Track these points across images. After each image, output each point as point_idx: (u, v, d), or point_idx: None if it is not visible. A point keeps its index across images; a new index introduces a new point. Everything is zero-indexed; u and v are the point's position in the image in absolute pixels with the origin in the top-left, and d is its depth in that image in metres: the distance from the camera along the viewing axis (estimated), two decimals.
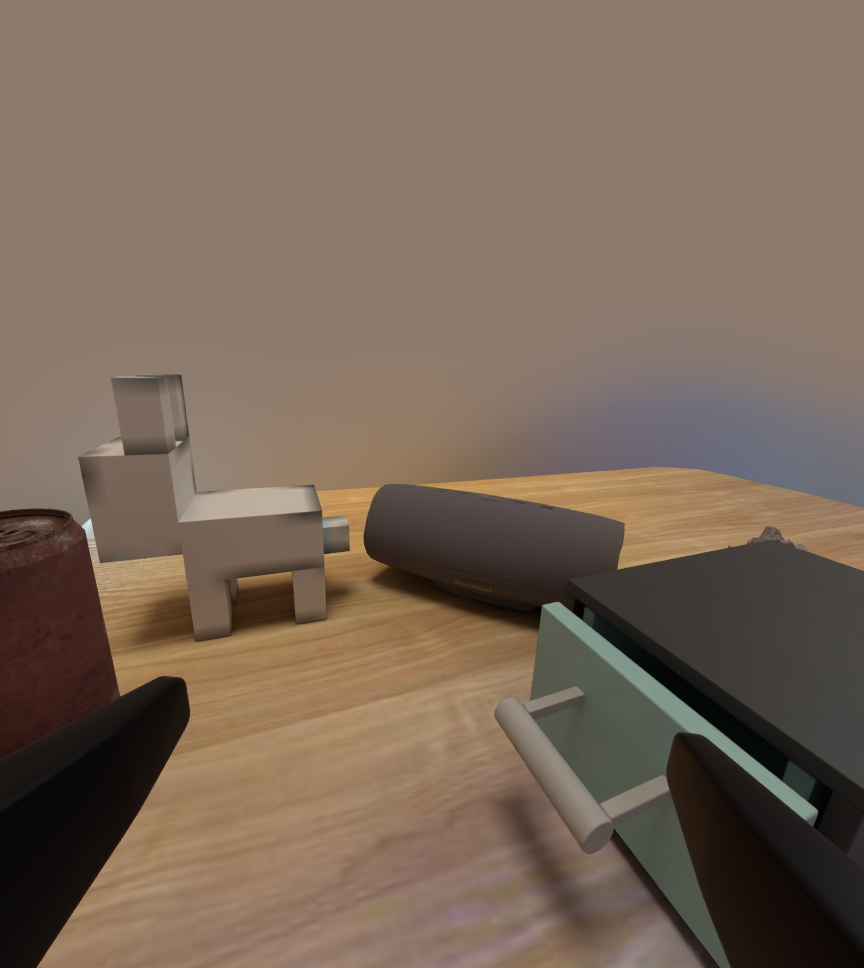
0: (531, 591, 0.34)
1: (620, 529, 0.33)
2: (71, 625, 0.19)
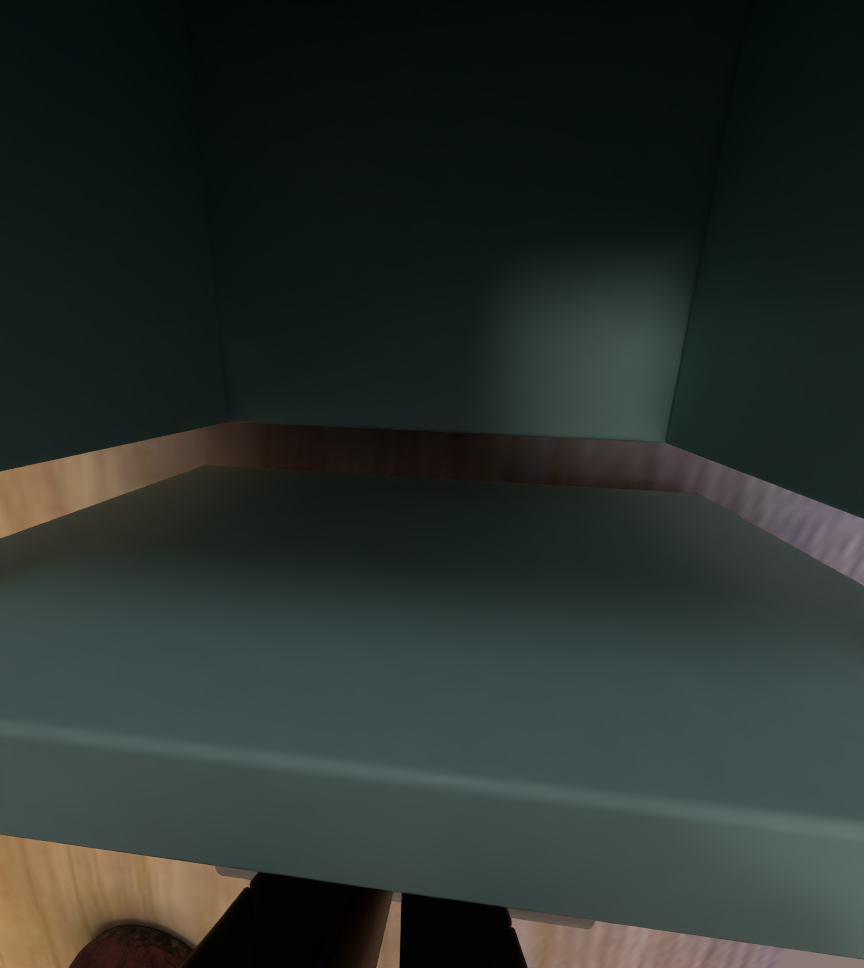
0: None
1: None
2: None
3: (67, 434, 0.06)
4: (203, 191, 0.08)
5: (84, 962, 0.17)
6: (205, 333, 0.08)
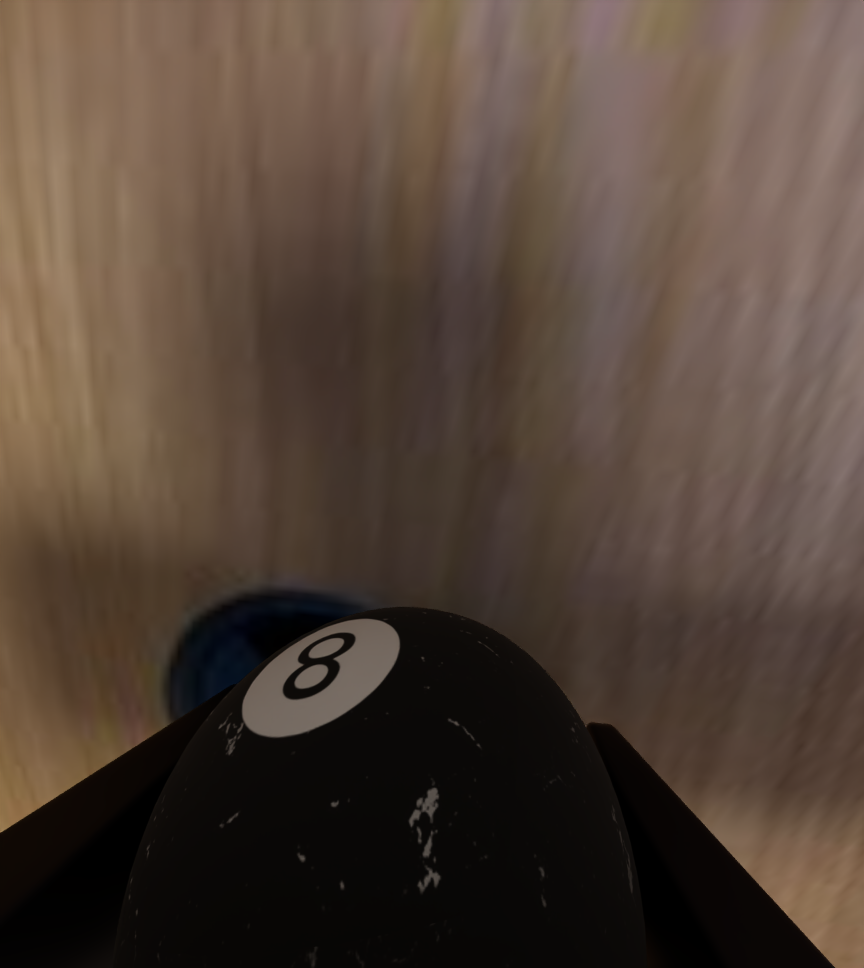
0: None
1: None
2: None
3: None
4: None
5: None
6: None
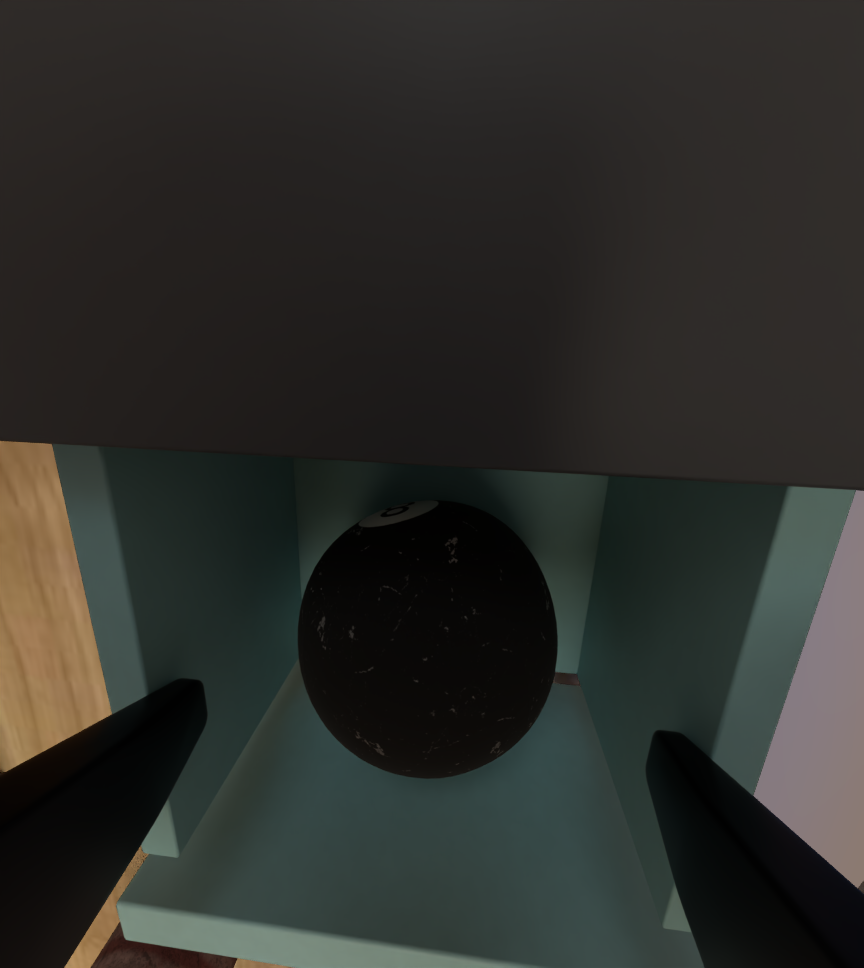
0: None
1: None
2: None
3: (248, 732, 0.11)
4: (296, 530, 0.13)
5: None
6: (296, 611, 0.14)
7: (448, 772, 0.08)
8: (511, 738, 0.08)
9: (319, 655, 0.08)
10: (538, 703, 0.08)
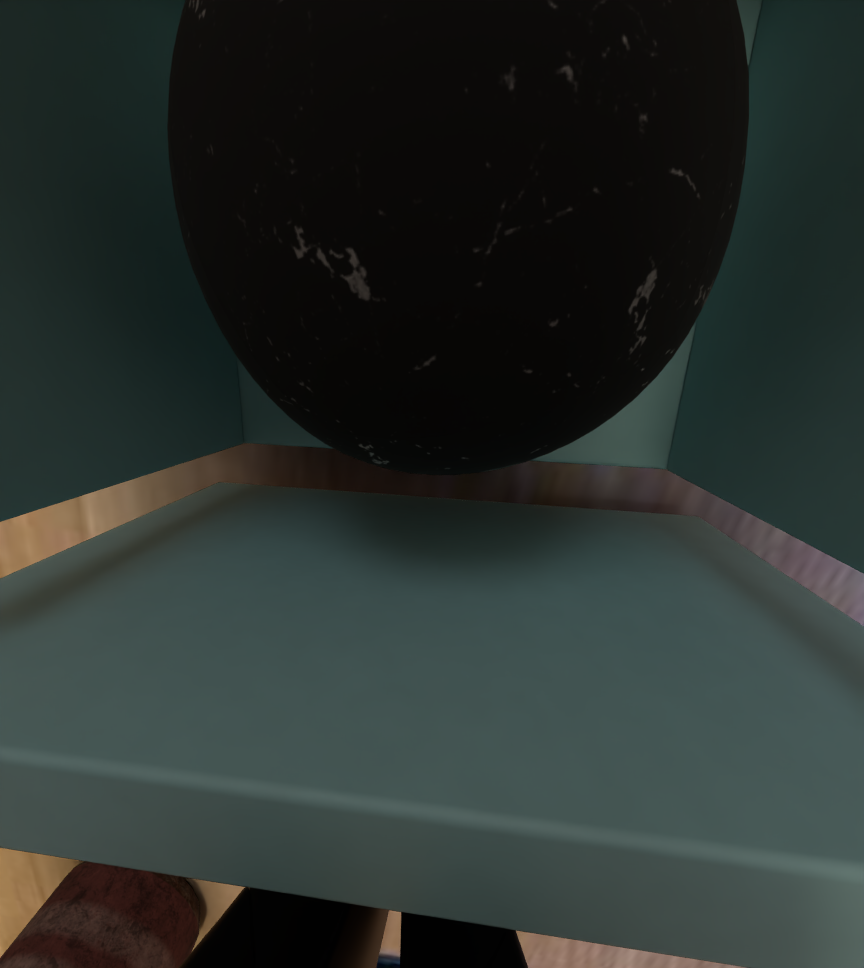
0: None
1: None
2: None
3: (99, 469, 0.06)
4: None
5: (69, 884, 0.16)
6: (224, 360, 0.09)
7: (524, 371, 0.03)
8: (674, 286, 0.03)
9: (195, 49, 0.03)
10: (726, 229, 0.03)
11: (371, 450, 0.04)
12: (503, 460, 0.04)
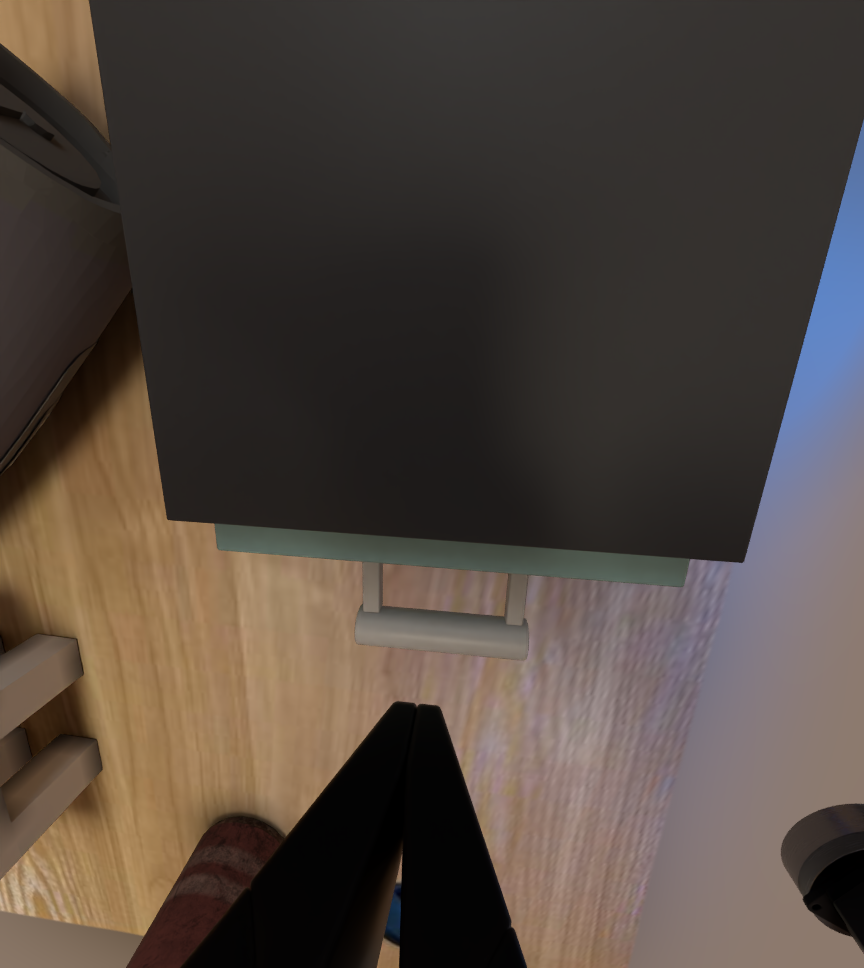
0: (74, 364, 0.15)
1: None
2: None
3: None
4: None
5: (212, 836, 0.26)
6: None
7: None
8: None
9: None
10: None
11: None
12: None
